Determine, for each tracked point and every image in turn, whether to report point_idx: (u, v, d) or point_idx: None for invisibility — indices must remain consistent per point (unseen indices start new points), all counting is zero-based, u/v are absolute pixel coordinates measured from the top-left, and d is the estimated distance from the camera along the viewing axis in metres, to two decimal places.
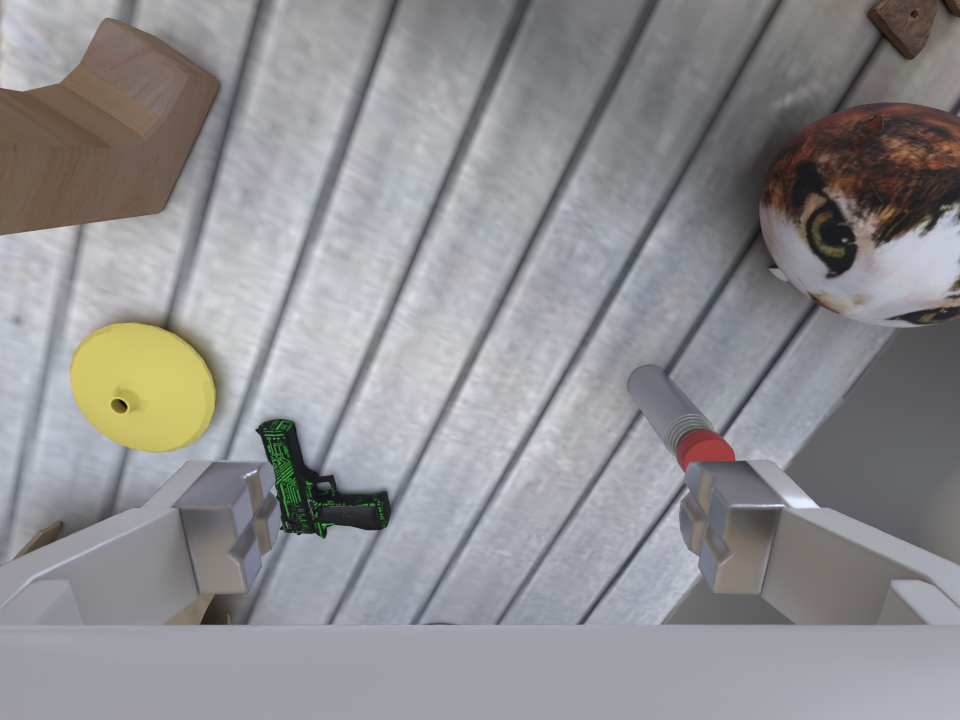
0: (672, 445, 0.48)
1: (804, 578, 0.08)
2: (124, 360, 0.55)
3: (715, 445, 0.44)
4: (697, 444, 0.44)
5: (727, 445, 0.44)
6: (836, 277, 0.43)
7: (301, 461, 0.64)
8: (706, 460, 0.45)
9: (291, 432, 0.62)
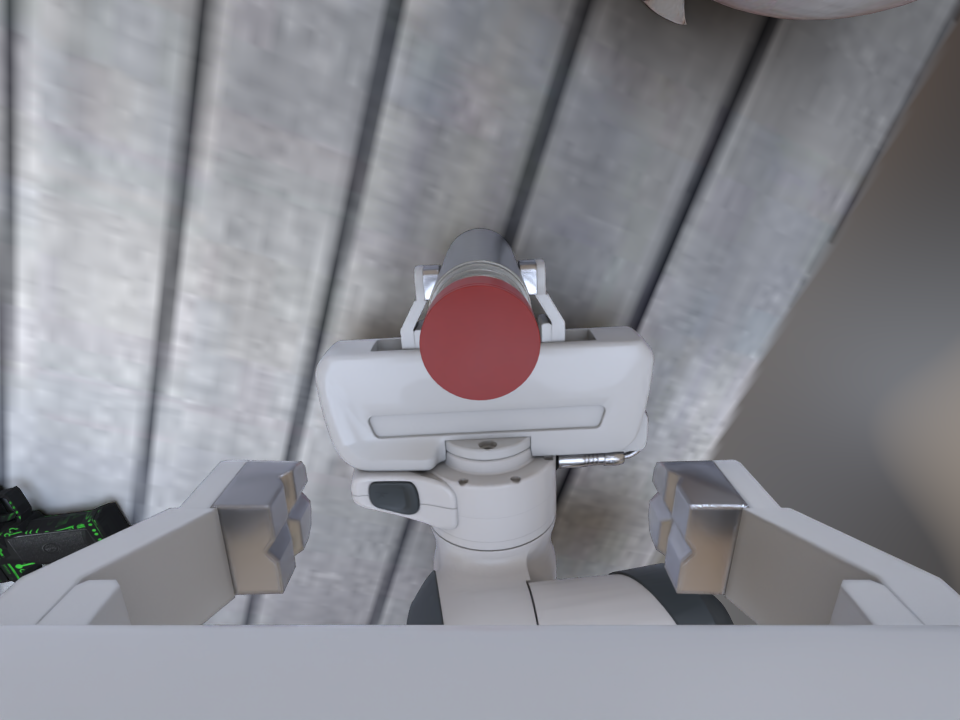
0: None
1: (765, 578, 0.08)
2: None
3: (481, 300, 0.18)
4: (438, 303, 0.18)
5: (510, 296, 0.18)
6: None
7: None
8: (472, 341, 0.19)
9: None
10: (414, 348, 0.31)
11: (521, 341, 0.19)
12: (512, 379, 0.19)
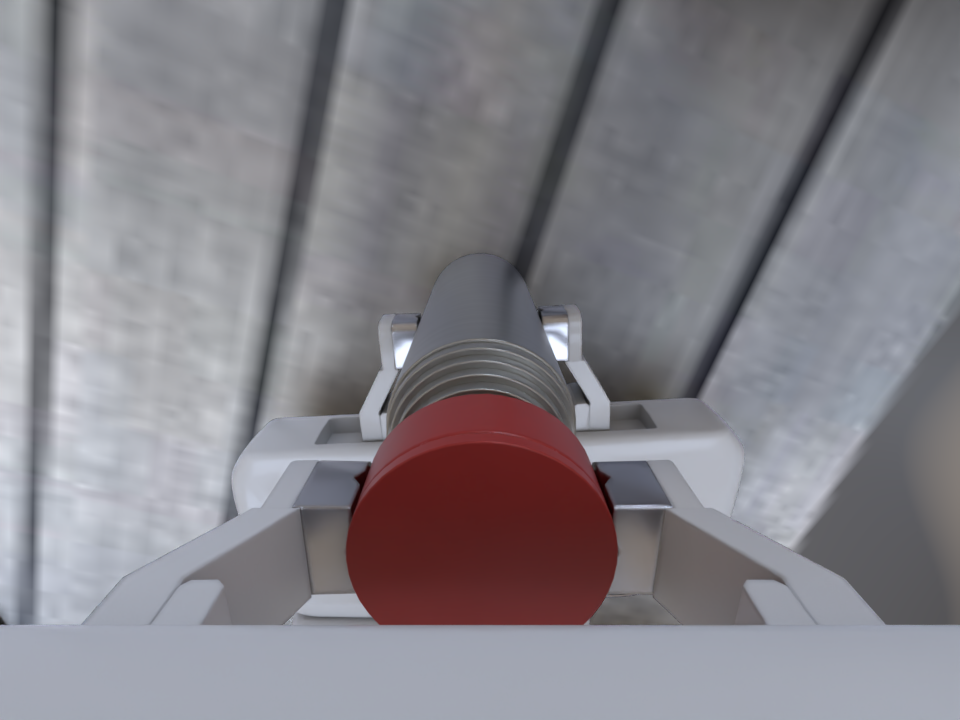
0: None
1: (686, 578, 0.08)
2: None
3: (485, 472, 0.08)
4: (385, 479, 0.08)
5: (553, 464, 0.08)
6: None
7: None
8: (464, 554, 0.08)
9: None
10: (381, 439, 0.20)
11: (575, 554, 0.08)
12: None
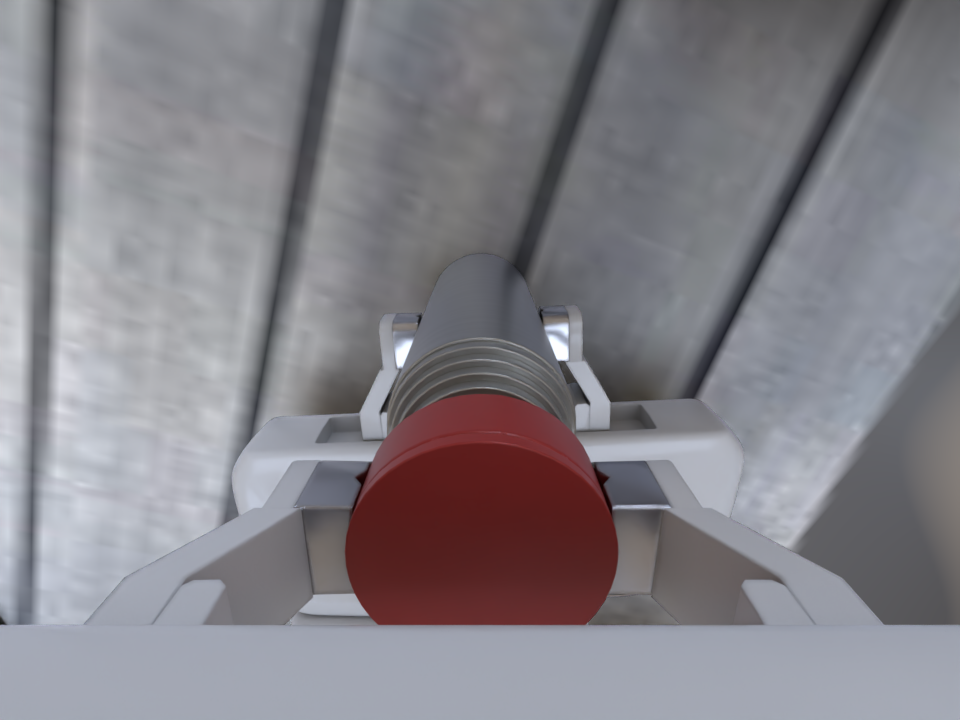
0: None
1: (684, 578, 0.08)
2: None
3: (379, 542, 0.08)
4: (374, 615, 0.09)
5: (380, 485, 0.08)
6: None
7: None
8: (469, 575, 0.09)
9: None
10: (381, 438, 0.20)
11: (492, 482, 0.08)
12: (581, 516, 0.08)
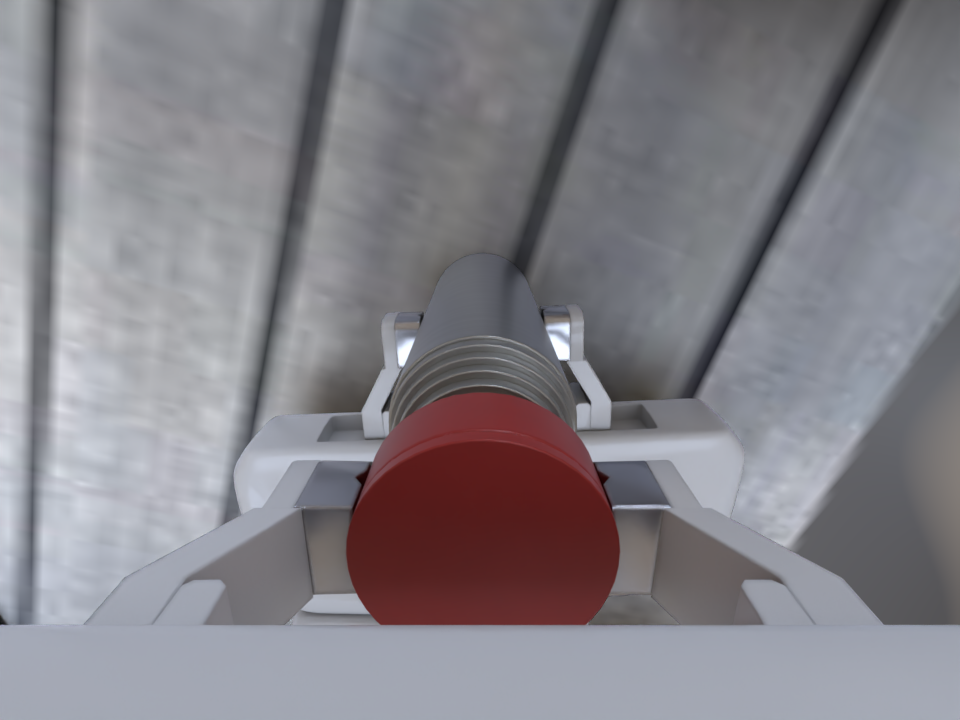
0: None
1: (684, 578, 0.08)
2: None
3: None
4: None
5: (381, 617, 0.09)
6: None
7: None
8: (494, 573, 0.08)
9: None
10: (383, 437, 0.21)
11: (391, 536, 0.08)
12: (445, 469, 0.08)
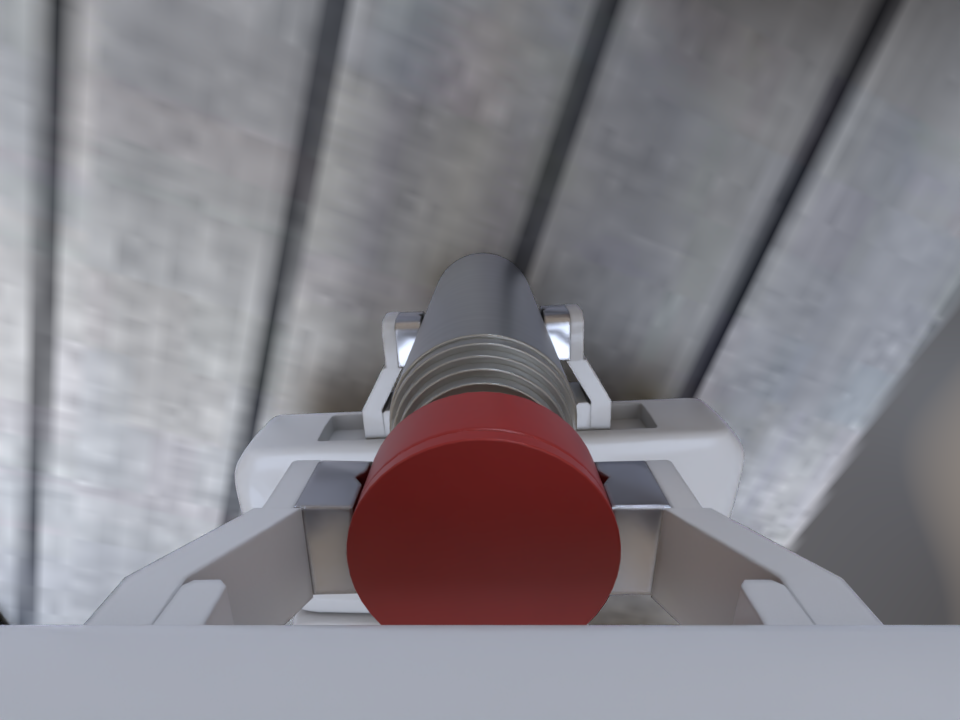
0: None
1: (684, 578, 0.08)
2: None
3: (561, 611, 0.09)
4: (616, 545, 0.08)
5: None
6: None
7: None
8: (501, 553, 0.08)
9: None
10: (383, 437, 0.21)
11: (437, 623, 0.09)
12: (372, 570, 0.08)
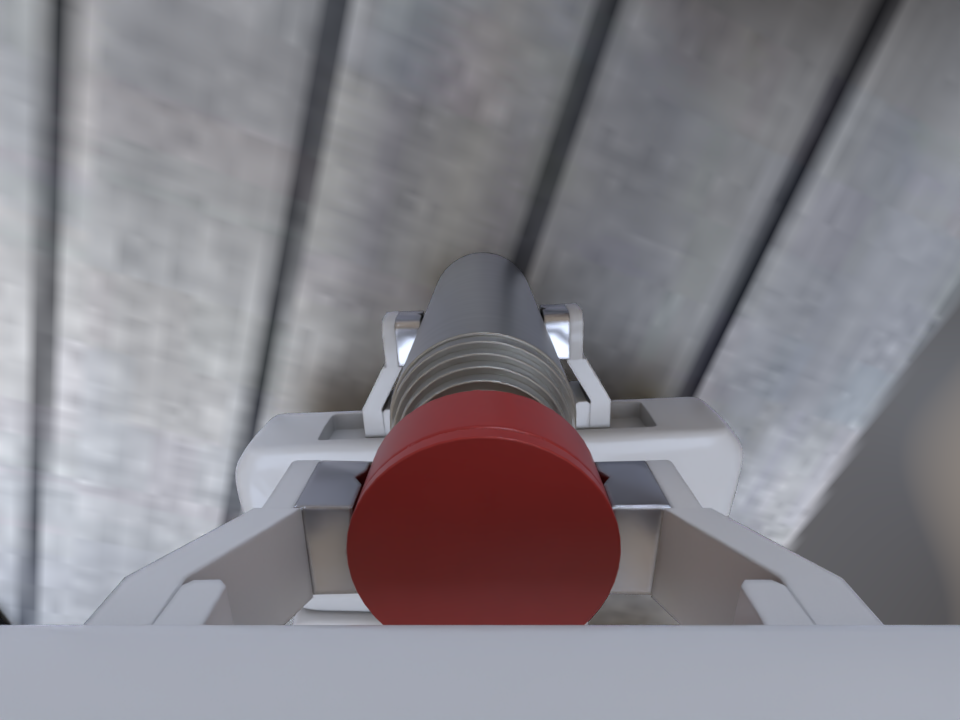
0: None
1: (684, 578, 0.08)
2: None
3: (567, 502, 0.08)
4: (495, 440, 0.08)
5: (613, 538, 0.08)
6: None
7: None
8: (478, 543, 0.08)
9: None
10: (383, 435, 0.21)
11: (549, 609, 0.09)
12: None
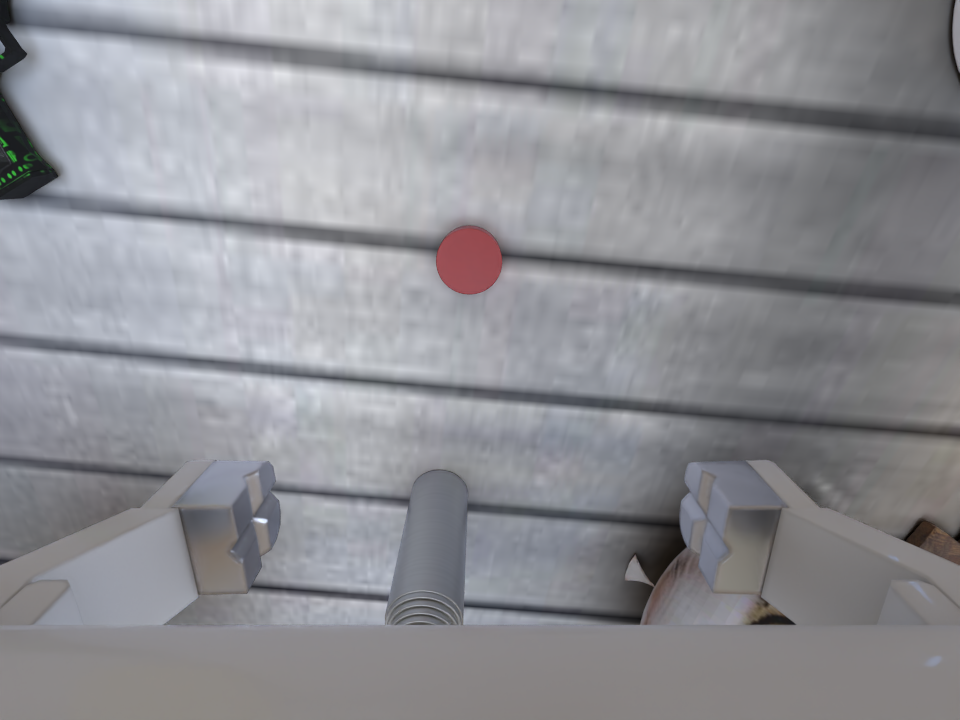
0: (404, 615, 0.29)
1: (804, 578, 0.08)
2: None
3: (457, 239, 0.34)
4: (438, 252, 0.35)
5: (469, 229, 0.34)
6: None
7: None
8: (464, 262, 0.35)
9: None
10: None
11: (487, 249, 0.35)
12: (494, 270, 0.35)
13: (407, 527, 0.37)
